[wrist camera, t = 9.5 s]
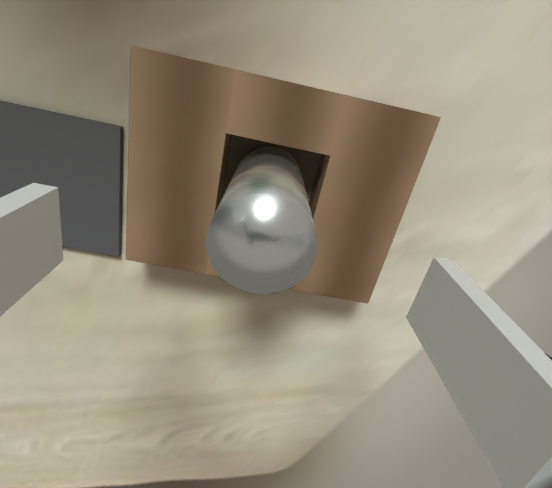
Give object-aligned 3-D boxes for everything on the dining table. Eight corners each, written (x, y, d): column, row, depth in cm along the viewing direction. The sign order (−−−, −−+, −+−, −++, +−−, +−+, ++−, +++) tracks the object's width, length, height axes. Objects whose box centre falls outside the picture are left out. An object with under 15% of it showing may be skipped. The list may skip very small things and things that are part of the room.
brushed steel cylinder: (231, 206, 23) (200, 285, 14) (240, 140, 21) (212, 183, 12) (294, 217, 24) (303, 301, 15) (308, 153, 22) (330, 204, 13)
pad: (-9, 230, 24) (-14, 232, 24) (-31, 94, 20) (-37, 94, 20) (120, 254, 25) (118, 256, 25) (123, 126, 21) (120, 127, 21)
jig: (142, 239, 24) (125, 259, 22) (151, 50, 19) (130, 45, 17) (358, 280, 26) (367, 303, 23) (419, 112, 21) (440, 117, 18)
